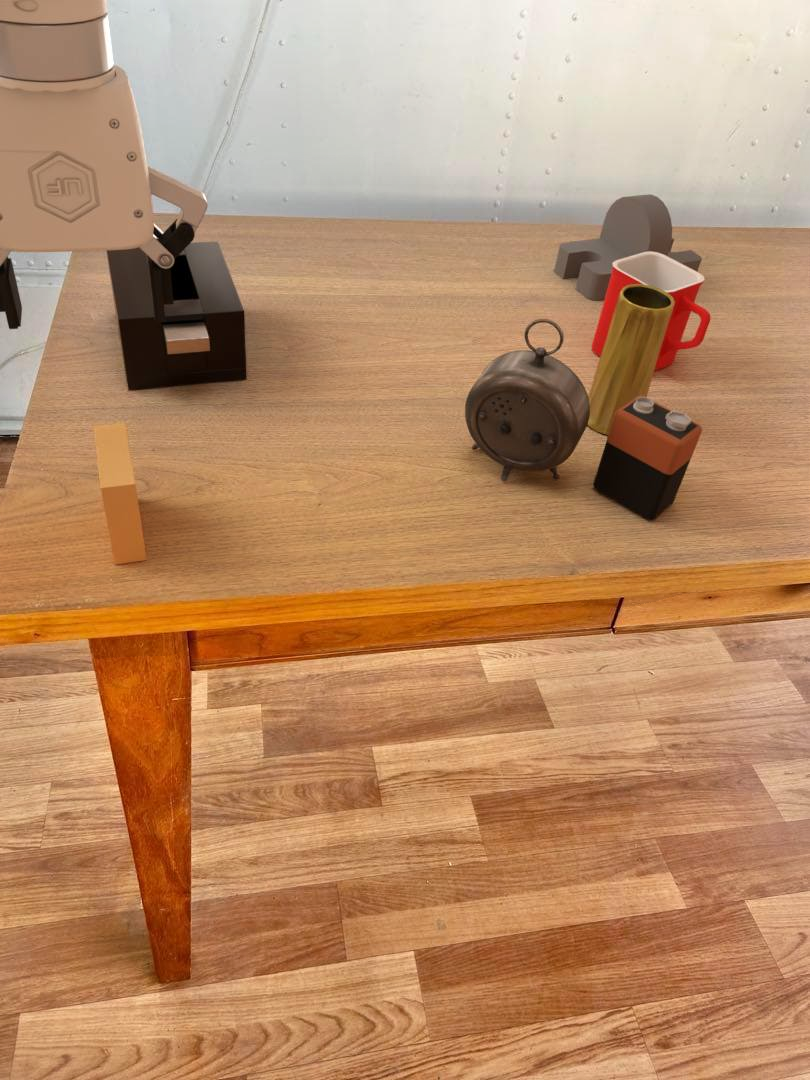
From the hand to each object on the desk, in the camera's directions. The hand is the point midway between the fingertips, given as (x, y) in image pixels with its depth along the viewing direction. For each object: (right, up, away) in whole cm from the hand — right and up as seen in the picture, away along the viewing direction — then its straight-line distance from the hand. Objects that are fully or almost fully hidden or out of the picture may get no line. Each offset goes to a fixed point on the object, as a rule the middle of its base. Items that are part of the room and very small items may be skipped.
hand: (89, 315), depth 61 cm
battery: (+44, -12, +21) cm, 50 cm away
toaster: (-2, +5, +33) cm, 34 cm away
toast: (-1, -15, +11) cm, 19 cm away
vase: (+44, -3, +31) cm, 54 cm away
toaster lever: (+1, +3, +23) cm, 23 cm away
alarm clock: (+33, -9, +23) cm, 41 cm away
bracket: (+52, +20, +57) cm, 80 cm away
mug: (+50, +5, +40) cm, 65 cm away
